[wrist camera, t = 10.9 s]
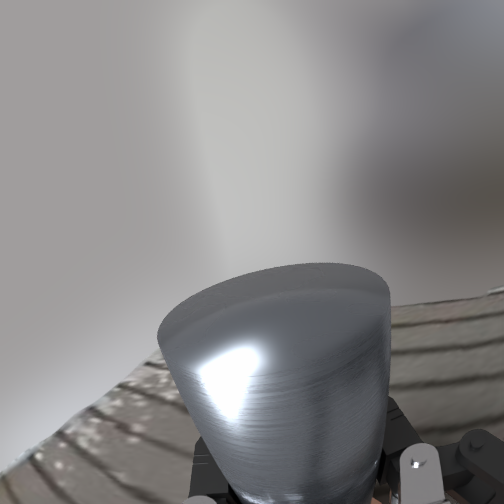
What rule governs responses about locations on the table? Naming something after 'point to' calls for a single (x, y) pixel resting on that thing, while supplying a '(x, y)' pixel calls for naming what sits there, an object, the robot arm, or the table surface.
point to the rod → (288, 379)
